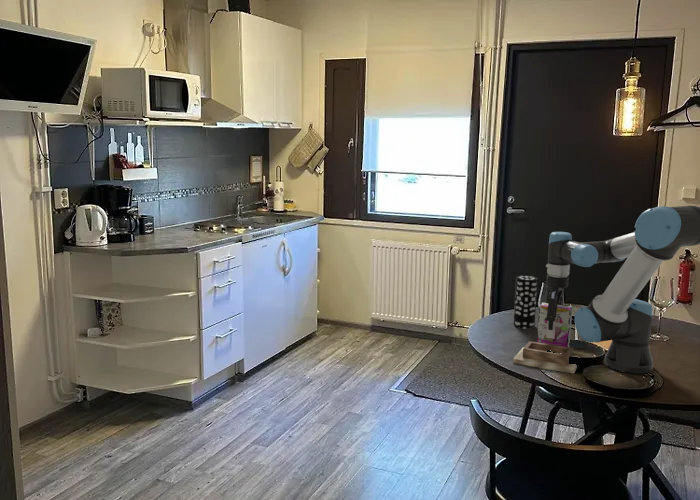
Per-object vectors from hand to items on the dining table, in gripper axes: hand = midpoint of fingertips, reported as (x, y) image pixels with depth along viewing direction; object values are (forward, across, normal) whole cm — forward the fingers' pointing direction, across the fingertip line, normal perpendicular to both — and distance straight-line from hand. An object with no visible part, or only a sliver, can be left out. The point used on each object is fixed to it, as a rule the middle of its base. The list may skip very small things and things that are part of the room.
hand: (553, 333), depth 234 cm
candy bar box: (+6, 0, 0) cm, 6 cm away
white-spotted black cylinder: (+6, -23, -16) cm, 29 cm away
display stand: (+6, +14, +1) cm, 16 cm away
